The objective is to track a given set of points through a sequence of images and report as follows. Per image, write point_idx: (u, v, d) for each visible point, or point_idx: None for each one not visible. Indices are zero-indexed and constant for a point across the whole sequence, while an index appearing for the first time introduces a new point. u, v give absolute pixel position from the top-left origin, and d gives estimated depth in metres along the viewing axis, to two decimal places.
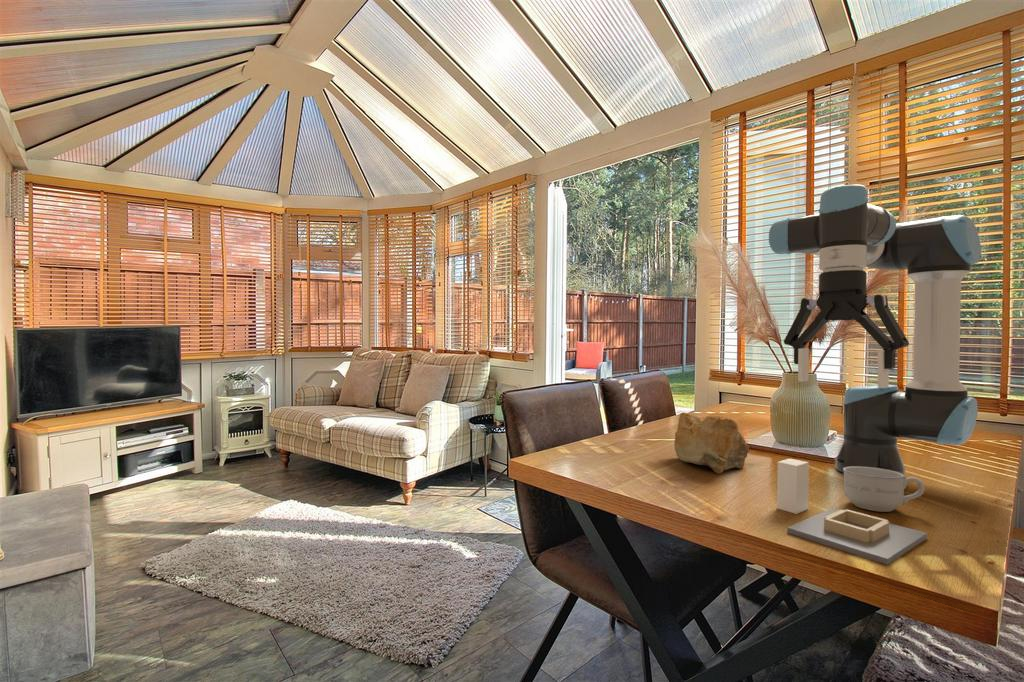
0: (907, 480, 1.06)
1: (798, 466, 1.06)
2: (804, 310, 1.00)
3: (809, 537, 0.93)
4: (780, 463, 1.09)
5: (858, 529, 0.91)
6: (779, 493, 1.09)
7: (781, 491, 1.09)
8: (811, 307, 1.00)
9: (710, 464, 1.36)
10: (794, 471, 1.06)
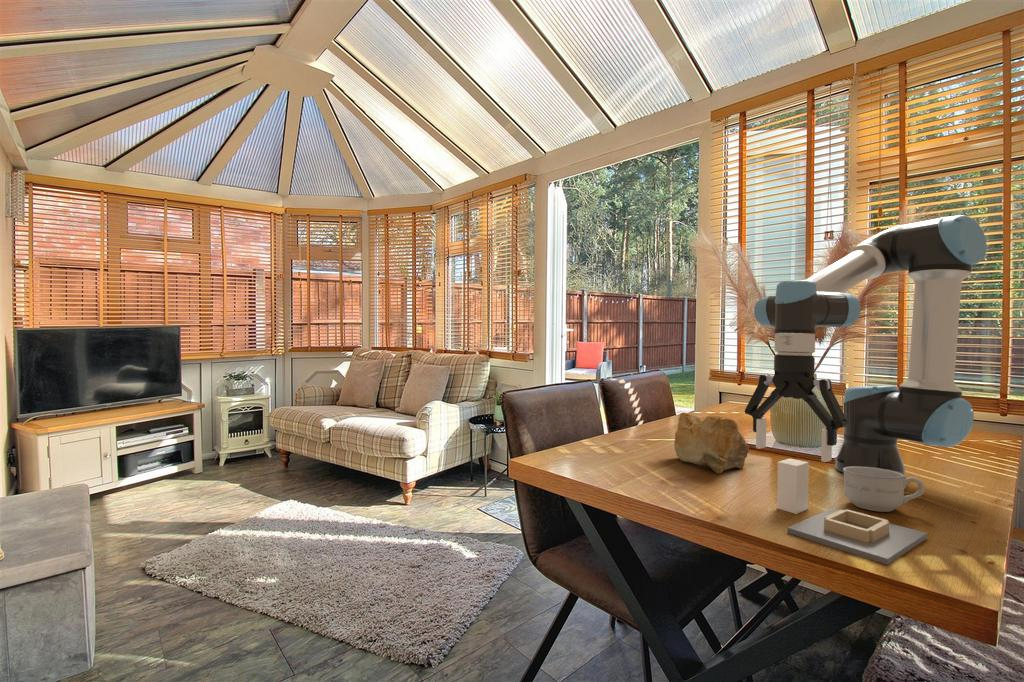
0: (907, 480, 1.06)
1: (798, 466, 1.06)
2: (762, 385, 1.13)
3: (809, 537, 0.93)
4: (780, 463, 1.09)
5: (858, 529, 0.91)
6: (779, 493, 1.09)
7: (781, 491, 1.09)
8: (768, 383, 1.12)
9: (710, 464, 1.36)
10: (794, 471, 1.06)
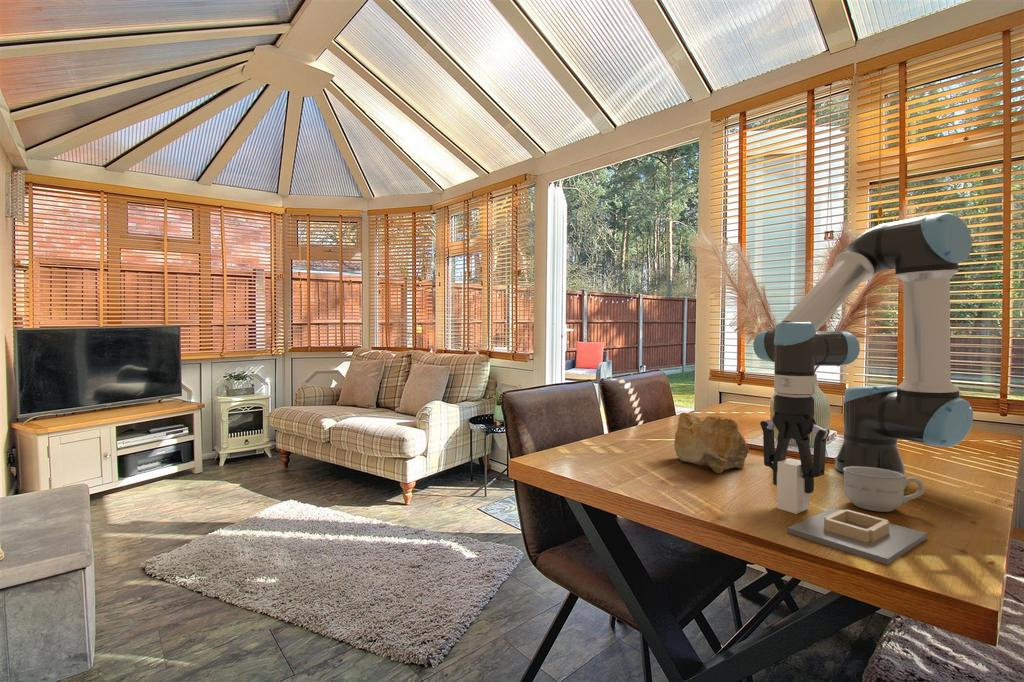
0: (907, 480, 1.06)
1: (798, 466, 1.06)
2: (766, 431, 1.12)
3: (809, 537, 0.93)
4: (780, 463, 1.09)
5: (858, 529, 0.91)
6: (779, 493, 1.09)
7: (781, 491, 1.09)
8: (771, 427, 1.12)
9: (710, 464, 1.36)
10: (794, 471, 1.06)
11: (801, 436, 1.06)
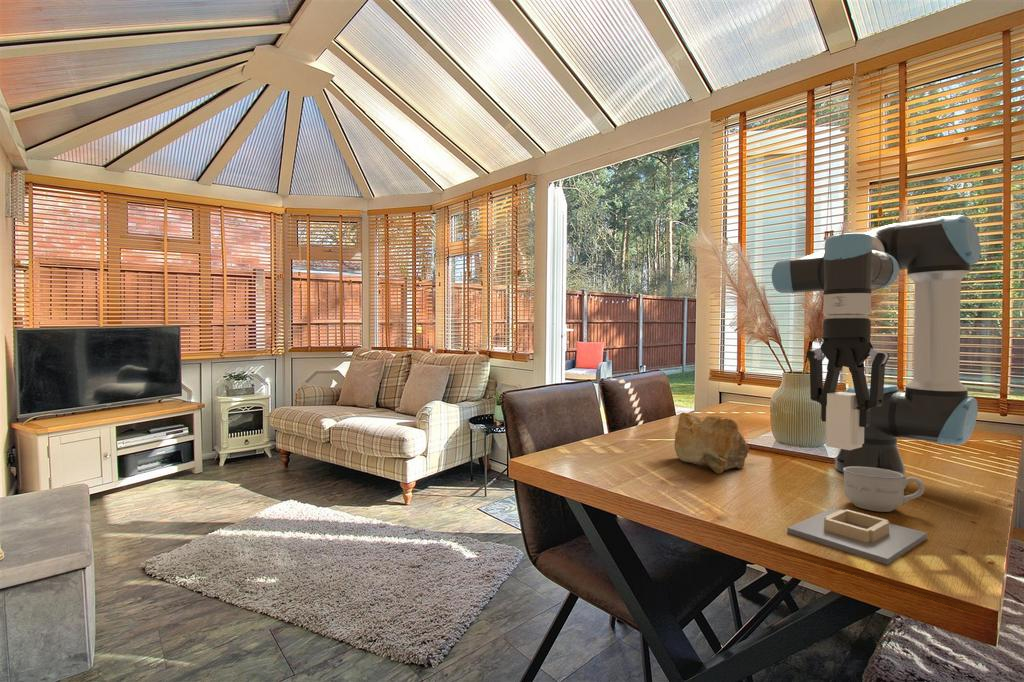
0: (907, 480, 1.06)
1: (852, 396, 0.94)
2: (814, 361, 1.00)
3: (809, 537, 0.93)
4: (830, 394, 0.96)
5: (858, 529, 0.91)
6: (829, 428, 0.96)
7: (831, 426, 0.96)
8: (819, 356, 1.00)
9: (710, 464, 1.36)
10: (847, 402, 0.94)
11: (856, 362, 0.94)
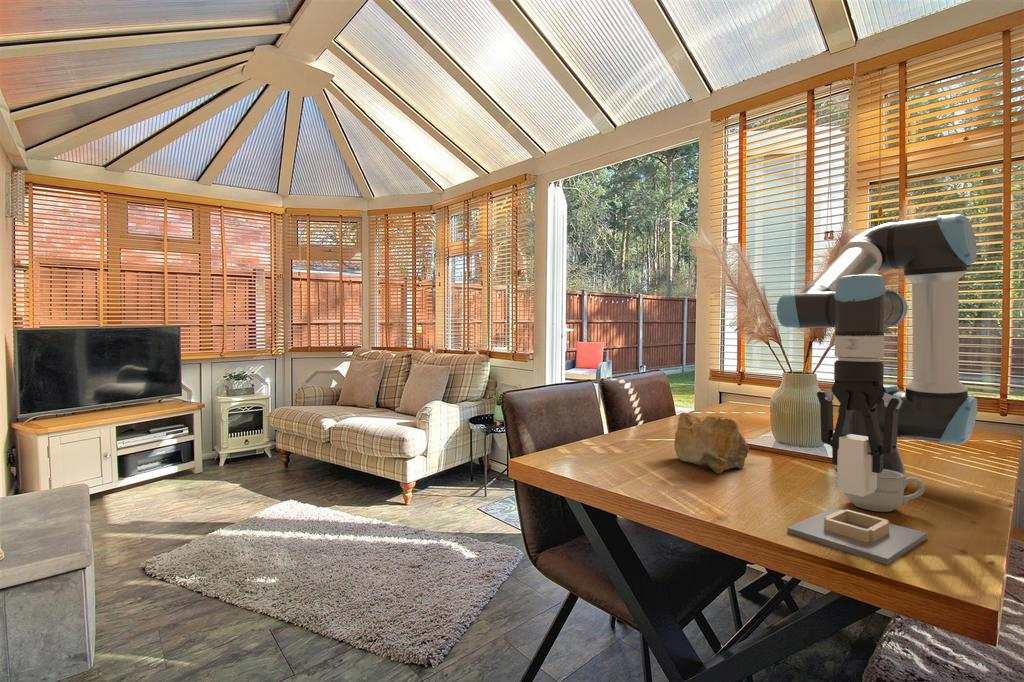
0: (907, 480, 1.06)
1: (865, 441, 0.92)
2: (825, 403, 0.98)
3: (809, 537, 0.93)
4: (842, 438, 0.94)
5: (858, 529, 0.91)
6: (841, 473, 0.94)
7: (843, 471, 0.94)
8: (830, 398, 0.98)
9: (710, 464, 1.36)
10: (860, 447, 0.92)
11: (868, 406, 0.92)
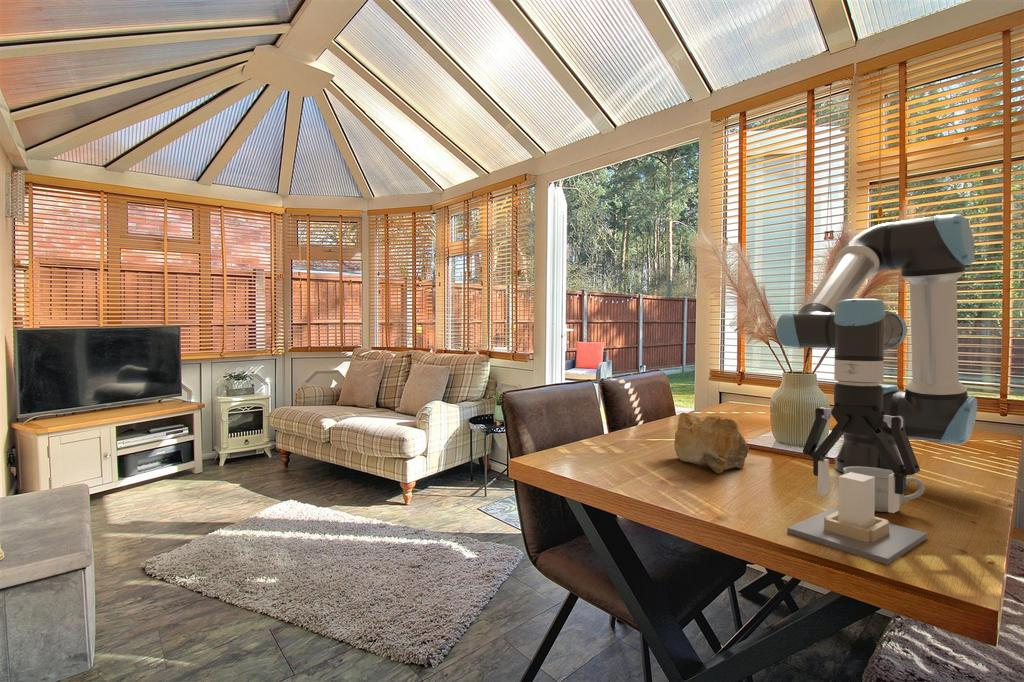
0: (907, 480, 1.06)
1: (864, 482, 0.92)
2: (820, 420, 0.99)
3: (809, 537, 0.93)
4: (842, 478, 0.94)
5: (858, 529, 0.91)
6: (841, 512, 0.95)
7: (843, 510, 0.94)
8: (826, 417, 0.98)
9: (710, 464, 1.36)
10: (859, 488, 0.92)
11: (872, 429, 0.91)
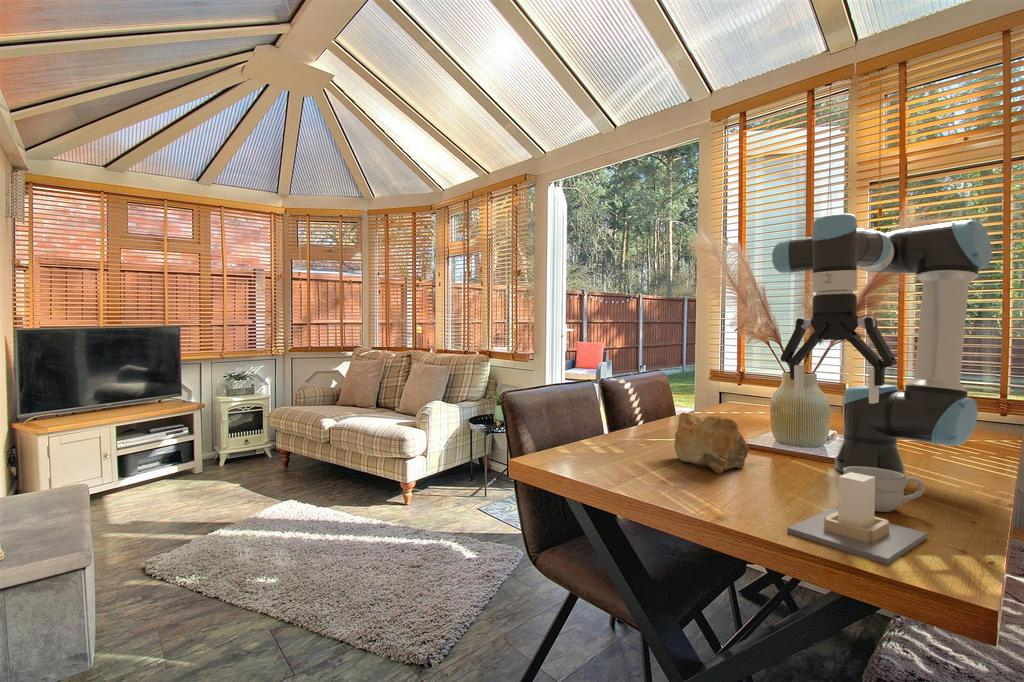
0: (907, 480, 1.06)
1: (864, 482, 0.92)
2: (799, 329, 1.07)
3: (809, 537, 0.93)
4: (842, 478, 0.94)
5: (858, 529, 0.91)
6: (841, 512, 0.95)
7: (843, 510, 0.94)
8: (805, 327, 1.07)
9: (710, 464, 1.36)
10: (859, 488, 0.92)
11: (848, 331, 1.00)
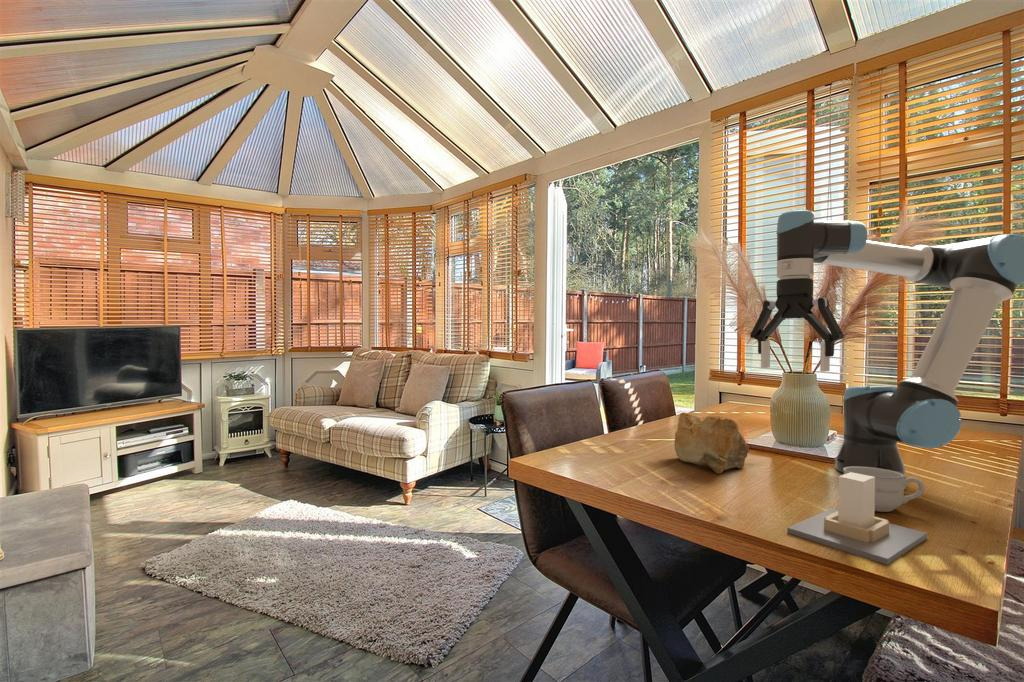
0: (907, 480, 1.06)
1: (864, 482, 0.92)
2: (765, 310, 1.24)
3: (809, 537, 0.93)
4: (842, 478, 0.94)
5: (858, 529, 0.91)
6: (841, 512, 0.95)
7: (843, 510, 0.94)
8: (771, 307, 1.24)
9: (710, 464, 1.36)
10: (859, 488, 0.92)
11: (805, 310, 1.17)
